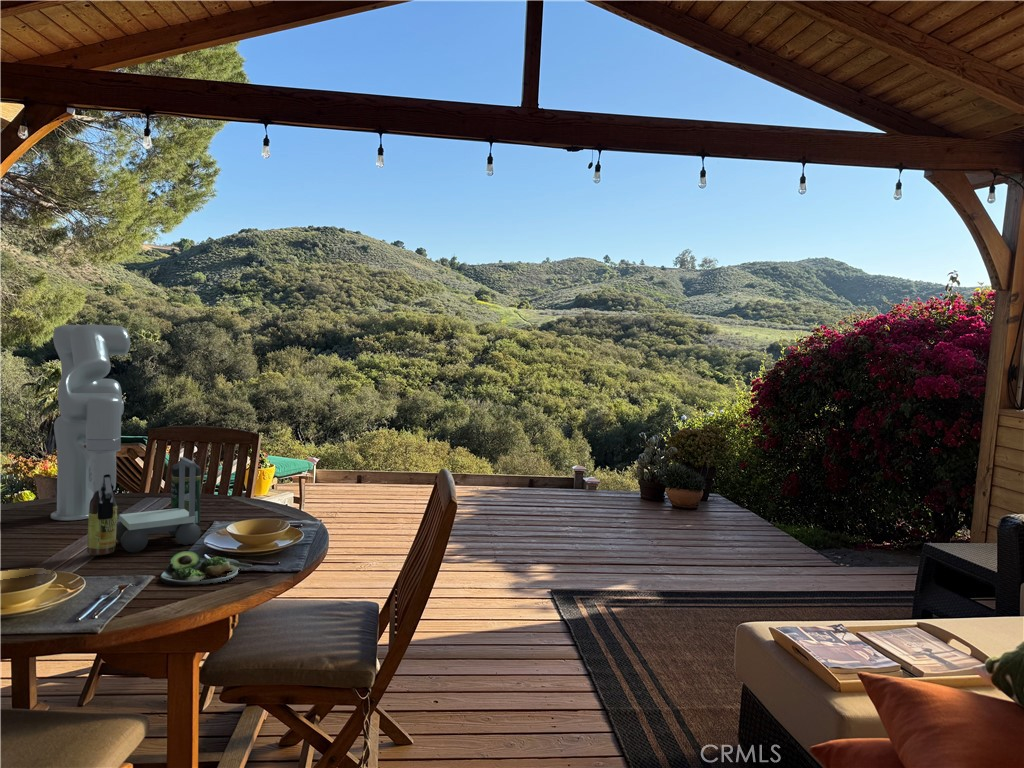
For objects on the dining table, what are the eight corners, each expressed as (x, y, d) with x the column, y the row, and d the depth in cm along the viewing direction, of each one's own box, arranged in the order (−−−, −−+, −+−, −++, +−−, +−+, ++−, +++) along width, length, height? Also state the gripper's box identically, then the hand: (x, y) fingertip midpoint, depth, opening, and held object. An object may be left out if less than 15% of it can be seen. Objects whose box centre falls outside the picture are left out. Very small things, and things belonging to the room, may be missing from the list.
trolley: (112, 543, 187) (113, 461, 186) (187, 533, 199) (189, 456, 198) (122, 554, 178) (123, 468, 177) (200, 543, 190) (201, 462, 189)
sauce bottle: (102, 557, 172) (103, 478, 171) (81, 554, 173) (82, 476, 172) (122, 550, 178) (123, 473, 177) (101, 547, 180) (102, 471, 179)
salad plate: (256, 562, 177) (257, 544, 177) (245, 586, 159) (246, 566, 159) (174, 564, 173) (174, 546, 172) (154, 589, 155) (154, 568, 155)
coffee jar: (168, 521, 212) (169, 460, 211) (196, 518, 216) (197, 459, 215) (173, 528, 204) (174, 465, 203) (202, 525, 208) (203, 464, 207)
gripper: (80, 441, 179) (79, 510, 180) (92, 451, 165) (91, 525, 166) (113, 440, 183) (112, 507, 184) (127, 449, 170) (126, 521, 171)
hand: (102, 515), depth 175 cm, fingers closed on sauce bottle, 6 cm apart
